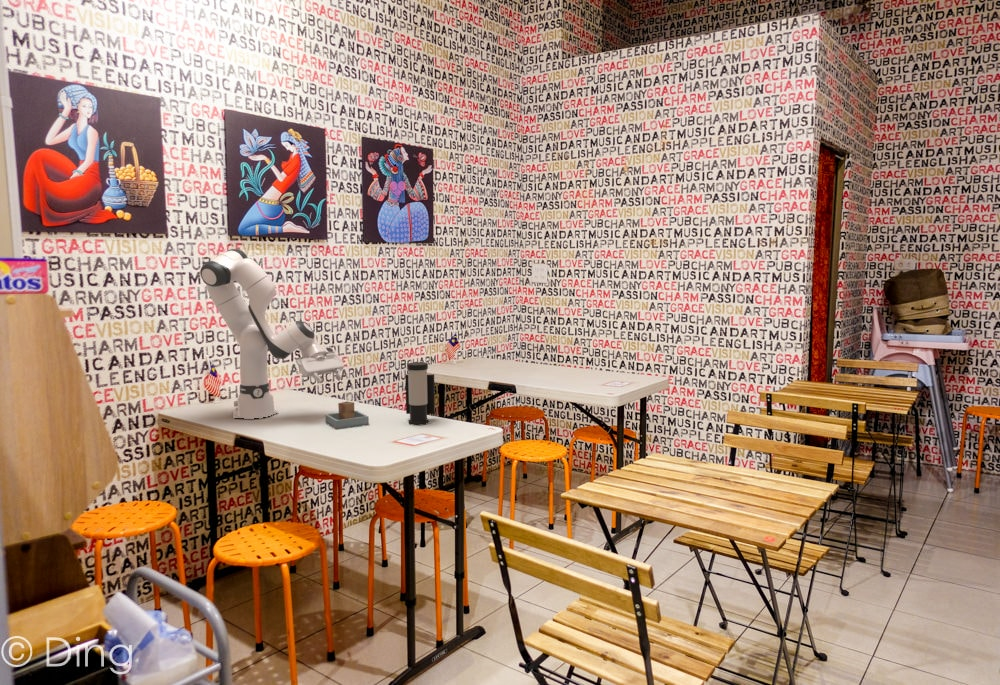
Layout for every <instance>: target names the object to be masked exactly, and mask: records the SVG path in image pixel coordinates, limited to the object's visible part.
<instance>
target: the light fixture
mask: <svg viewBox="0 0 1000 685" xmlns="http://www.w3.org/2000/svg"><path fill="white" fill-rule="evenodd" d="M406 369H407V373H408V374H405V376H404V377H405V380H404V381H405V412H406V415H409V420H408V424H409V425H410V424H414V425H413V426H420V425H419V424H425V425H427V424H426V423H428V422H429V423H430V419H428V415H431V414H432V415H435V413H436V400H435V397H436V396H435V394H436V393H435V374H434V373H433V374H431V373H428V369H429V364H428V362H424V361H417V362H416V361H415V362H408V363H406ZM429 423H428V424H429Z"/></svg>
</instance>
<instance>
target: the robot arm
mask: <svg viewBox="0 0 1000 685" xmlns="http://www.w3.org/2000/svg"><path fill="white" fill-rule="evenodd" d="M199 274H200V278H201V280H202V281H203V282H204V283H205V284H206V285H205V286H206V290H207V292H208V294H209V298H210V299H211V300H212V303H213V305H214V306H215V307H216V309H217V311H218V312H219V314H220V316H221V317H222V318H223V320H224V322H225V324H226V326H227V327H228V329H229V330H230V332H231V333H232V335H233V337H234V338H235V340H236V342H237V344H238V345H239V372H240V373H239V374H240V384H239V395H238V397H237V400H235V401H233V407H236V408H235V409H233V411H232V419H234V418H244V419H243V420H255V419H254V418H259V419H264V418H263V417H266V418H269V417H268V416H270V417H272V416H273V414H274V415H277V414H279V410H277V409H275V401H274V395H273V394H271V393H270V383H269V378H268V351H269V353H270V354H271V356H272V357H273V358H275V359H279V360H285V359H287V358H288V357H289V356H290V355H291V354H292V353H294V352H295V351H296V350H299V351H300V353H301V356H299V357H297V358H296V359H295V362H296V365H297V366H298V369H299V371H300V374H301V376H302V377H304V378H308V377H312V379H314V380H315V381H317V383H318V384H323V382H324V379H323V377H322V376H321V375H326V374H327V375H328V374H332V373H334V374H335V375H336V376H335V380H338V381H339V380H341V379H342V376H341V372H342V371H343V369H344V368H345V364H344V361H343V360H342V358H341V357H340V355H338V354H337V353H336V350H335V348H333V347H328V346H325V345H321V343H319V342H318V340H317V337H316V335H315V332H314V331H313V329H312V327H311V326H310V325H309V324H308V323H307V322H306V321H302V320H296V321H294V322H292V323H290V324H289V325H288V326H286V327H285V328H284V329H282V330H281V331H280V332H278V333H277V334H274V333H273V331H272V328H271V326H270V325H269V323H268V322H267V319H266V316H265V314H266V311H267V309H268V307H269V305H270V304H271V302H272V300H273V299H274V298H275V294H276V285H275V283H274V282H273V280H272V279H271V278H270V276H269V275H268V274H267V272H266V271H265V270H264V269H263V268H262V267H261V266H260V265H259V264H258V263H257V262H256V261H255V260H254V259H252V258H251V257H248V256H247V254H246V253H245V252H244V251H243V250H242V249H240V248H232V249H228V250H226V251H223V252H221V253H220V254H217V255H216V256H214V257H213V258H211V259H210V260H208V261H206V262H205V263H204V264H203V265H202V267H201V268H200V271H199ZM235 282H237V283H238V284H239V285H240V287H241V288H242V289H243V291H245V293H246V294H247V297H248V300H249V304H248V305H247V303H246V301H245V299H244V298H243V297H242V294H241V293H240V291H239V290H238V288H237V286H236V285H235ZM320 376H321V377H320ZM276 413H277V414H276ZM271 415H272V416H271Z"/></svg>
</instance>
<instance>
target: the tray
mask: <svg viewBox="0 0 1000 685" xmlns="http://www.w3.org/2000/svg"><path fill="white" fill-rule="evenodd" d="M354 412H355V418H350V419H342V420H339V412H335V413H327V414H326V413H325V415H324V416H325V417H324V419H325V420H324V421H325V422H326V423H325V424H327V425H328V424H329V425H328V426H330V427H332V428H333V427H334V429H335V430H342V429H341V428H343V429H349V428H348V427H350V428H356V427H355V426H357V427H362V425H365V426H369V425H370V422H369V419H370V418H369V415H367V414H365V413H363V412H360V411H358V410H354ZM368 424H369V425H368Z"/></svg>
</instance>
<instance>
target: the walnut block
mask: <svg viewBox="0 0 1000 685" xmlns="http://www.w3.org/2000/svg"><path fill="white" fill-rule="evenodd" d="M337 405H338V408H337V409H338V413H339V420H342V419H350V418H355V412H354V411H355V402H354V401H348V400H346V401H341V402H338V404H337Z"/></svg>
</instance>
